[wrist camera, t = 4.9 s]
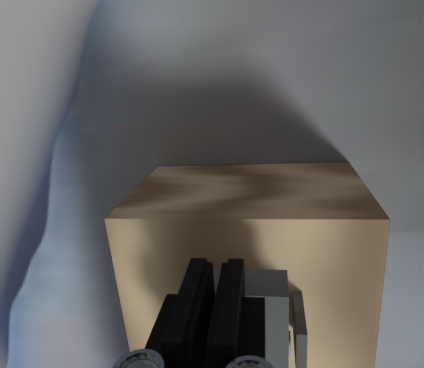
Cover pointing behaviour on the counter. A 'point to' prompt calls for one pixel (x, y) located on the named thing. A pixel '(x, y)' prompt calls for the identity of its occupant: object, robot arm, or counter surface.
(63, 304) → the counter surface
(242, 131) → the counter surface
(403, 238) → the counter surface
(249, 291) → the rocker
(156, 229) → the switch unit
